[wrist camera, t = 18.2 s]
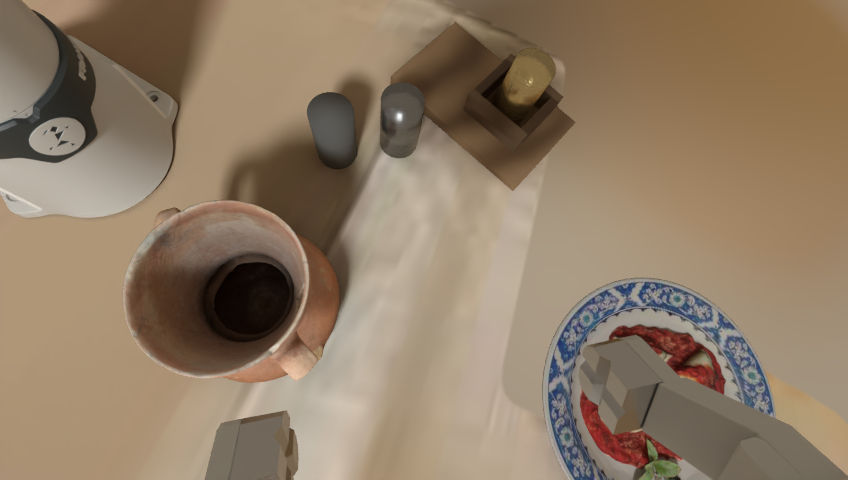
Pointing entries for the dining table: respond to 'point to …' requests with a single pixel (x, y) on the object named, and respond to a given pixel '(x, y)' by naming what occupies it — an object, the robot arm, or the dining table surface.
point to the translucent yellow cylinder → (524, 83)
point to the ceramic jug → (230, 294)
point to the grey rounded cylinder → (333, 129)
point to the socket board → (482, 105)
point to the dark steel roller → (400, 119)
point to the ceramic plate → (675, 343)
